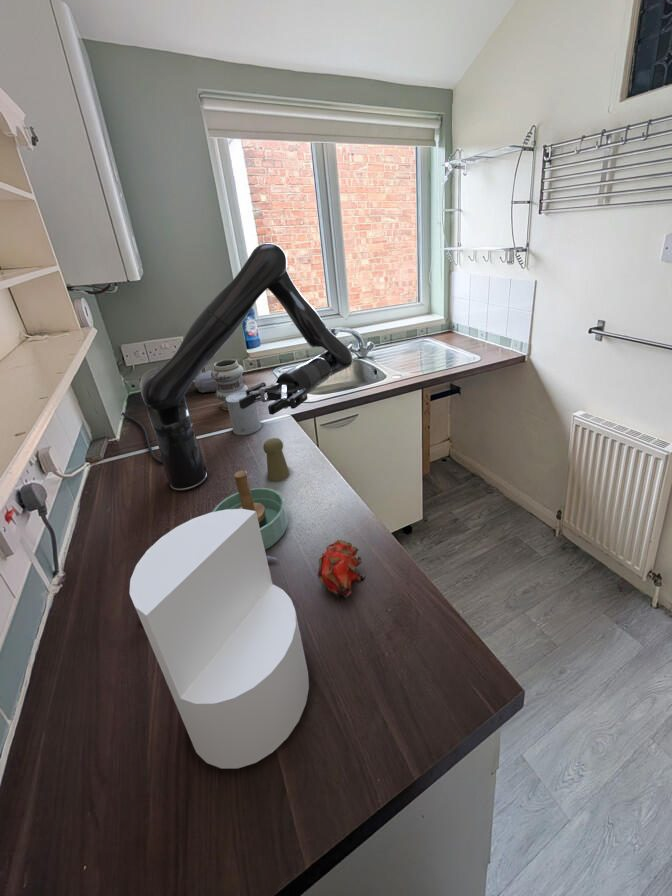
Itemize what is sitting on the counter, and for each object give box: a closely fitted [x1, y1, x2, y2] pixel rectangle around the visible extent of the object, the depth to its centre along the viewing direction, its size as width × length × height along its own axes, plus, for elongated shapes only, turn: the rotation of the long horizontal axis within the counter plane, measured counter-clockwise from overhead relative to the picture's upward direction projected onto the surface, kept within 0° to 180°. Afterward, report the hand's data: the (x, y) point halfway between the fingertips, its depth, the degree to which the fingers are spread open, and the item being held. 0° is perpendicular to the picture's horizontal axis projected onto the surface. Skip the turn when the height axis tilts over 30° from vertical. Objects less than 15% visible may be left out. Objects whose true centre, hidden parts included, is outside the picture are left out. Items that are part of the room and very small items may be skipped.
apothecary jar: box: [211, 358, 249, 411], centre depth 156 cm, size 12×12×18 cm
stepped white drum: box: [129, 509, 310, 769], centre depth 55 cm, size 17×17×28 cm
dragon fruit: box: [317, 539, 367, 598], centre depth 77 cm, size 8×8×12 cm
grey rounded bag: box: [193, 369, 243, 393], centre depth 176 cm, size 15×8×20 cm
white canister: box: [226, 391, 262, 436], centre depth 138 cm, size 10×10×12 cm
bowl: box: [211, 487, 289, 551], centre depth 92 cm, size 16×16×6 cm
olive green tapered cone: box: [262, 437, 290, 482], centre depth 111 cm, size 6×6×11 cm
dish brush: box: [233, 470, 267, 528], centre depth 90 cm, size 7×7×15 cm
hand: (255, 407), depth 89 cm, fingers open, 8 cm apart
